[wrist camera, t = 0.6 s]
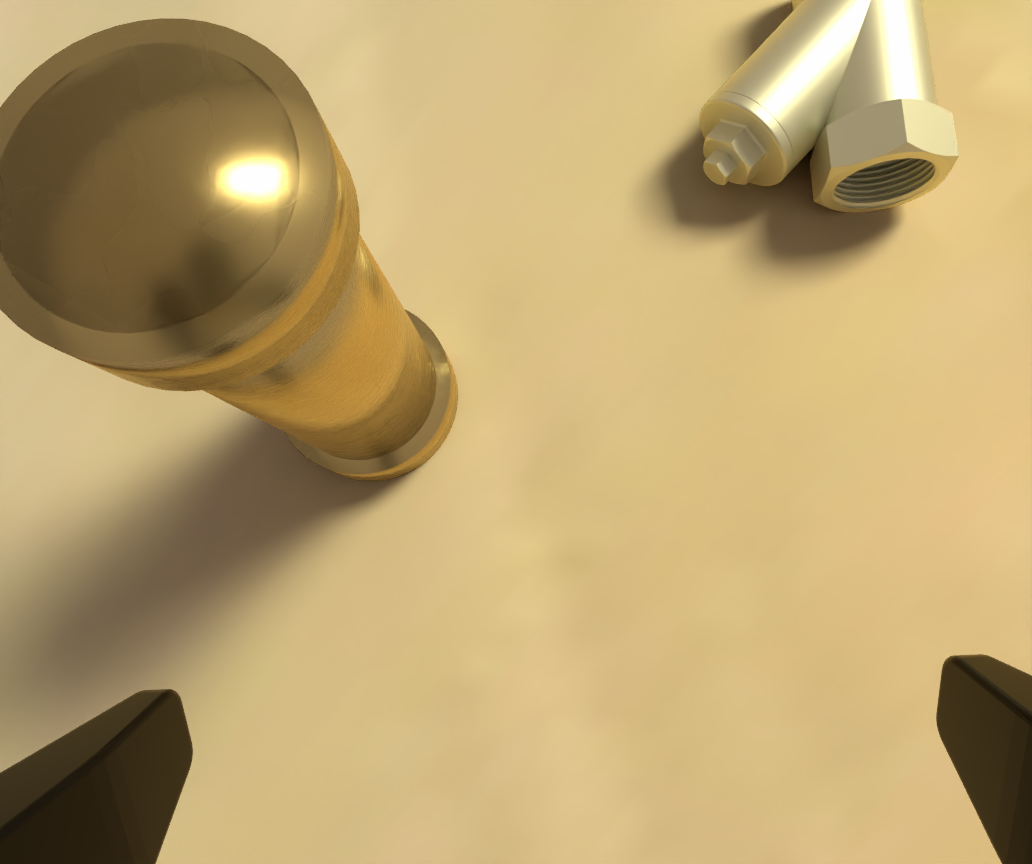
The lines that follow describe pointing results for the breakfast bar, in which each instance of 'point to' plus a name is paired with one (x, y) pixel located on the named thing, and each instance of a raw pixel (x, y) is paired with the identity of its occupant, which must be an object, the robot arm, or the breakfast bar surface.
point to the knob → (211, 244)
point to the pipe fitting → (836, 107)
